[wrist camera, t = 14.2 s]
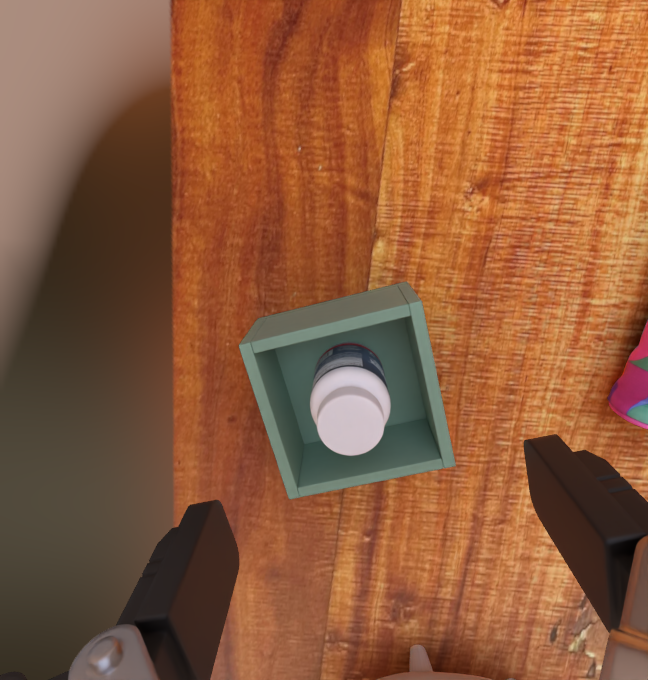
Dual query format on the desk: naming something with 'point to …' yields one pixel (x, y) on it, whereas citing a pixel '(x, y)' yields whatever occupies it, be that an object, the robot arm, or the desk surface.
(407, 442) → the bin
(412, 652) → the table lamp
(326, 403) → the pill bottle
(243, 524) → the desk surface
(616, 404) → the pencil case
